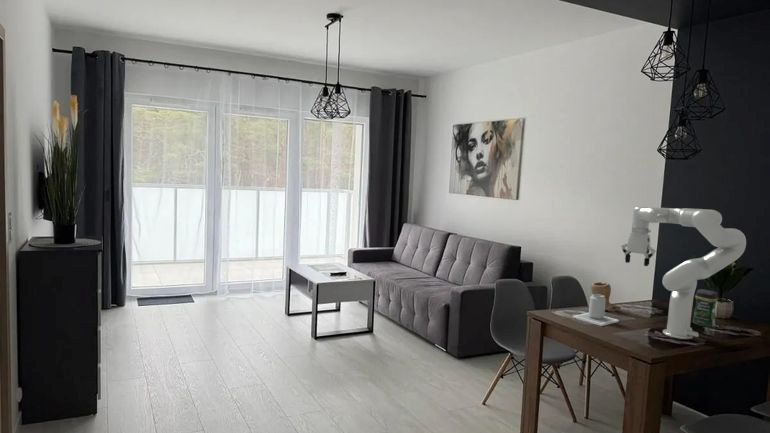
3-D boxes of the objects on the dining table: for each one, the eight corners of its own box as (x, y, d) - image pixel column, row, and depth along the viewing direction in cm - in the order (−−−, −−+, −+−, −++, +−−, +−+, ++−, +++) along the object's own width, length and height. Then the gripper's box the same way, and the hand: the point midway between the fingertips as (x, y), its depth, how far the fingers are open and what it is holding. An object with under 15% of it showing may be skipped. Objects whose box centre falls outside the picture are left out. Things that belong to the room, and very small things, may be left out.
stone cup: (584, 306, 302) (586, 280, 300) (597, 304, 308) (599, 279, 307) (608, 313, 289) (610, 286, 288) (621, 311, 296) (623, 285, 294)
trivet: (618, 321, 273) (618, 319, 273) (601, 326, 264) (601, 323, 264) (590, 314, 286) (590, 312, 286) (572, 317, 276) (573, 315, 276)
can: (601, 316, 278) (603, 293, 277) (605, 320, 270) (608, 297, 269) (586, 315, 279) (588, 292, 278) (590, 319, 271) (592, 296, 270)
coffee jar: (689, 323, 278) (693, 288, 276) (696, 321, 283) (700, 287, 281) (710, 328, 270) (714, 292, 268) (716, 326, 275) (720, 291, 273)
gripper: (660, 232, 266) (657, 266, 268) (627, 228, 280) (624, 260, 281) (653, 233, 262) (650, 267, 263) (619, 229, 275) (616, 261, 277)
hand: (636, 264), depth 272 cm, fingers open, 9 cm apart
